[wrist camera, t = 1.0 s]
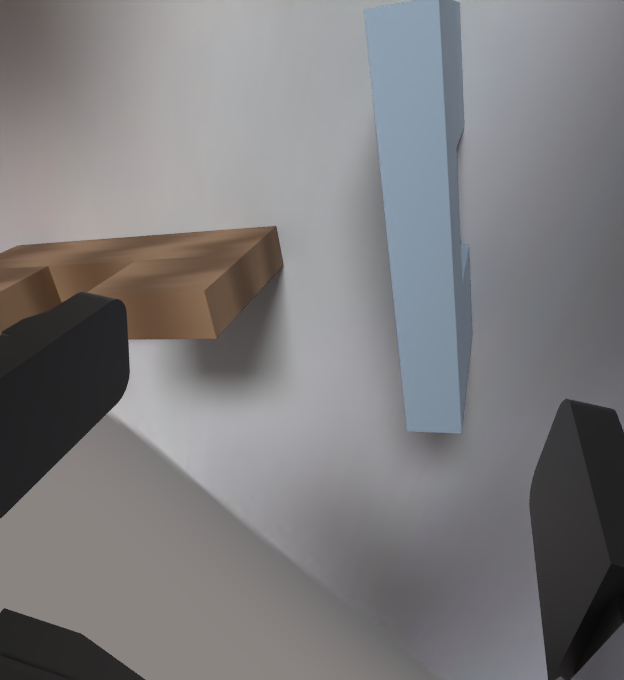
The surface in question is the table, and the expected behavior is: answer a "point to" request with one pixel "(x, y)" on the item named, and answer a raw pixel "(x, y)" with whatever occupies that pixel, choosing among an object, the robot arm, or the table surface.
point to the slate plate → (423, 202)
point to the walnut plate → (146, 278)
